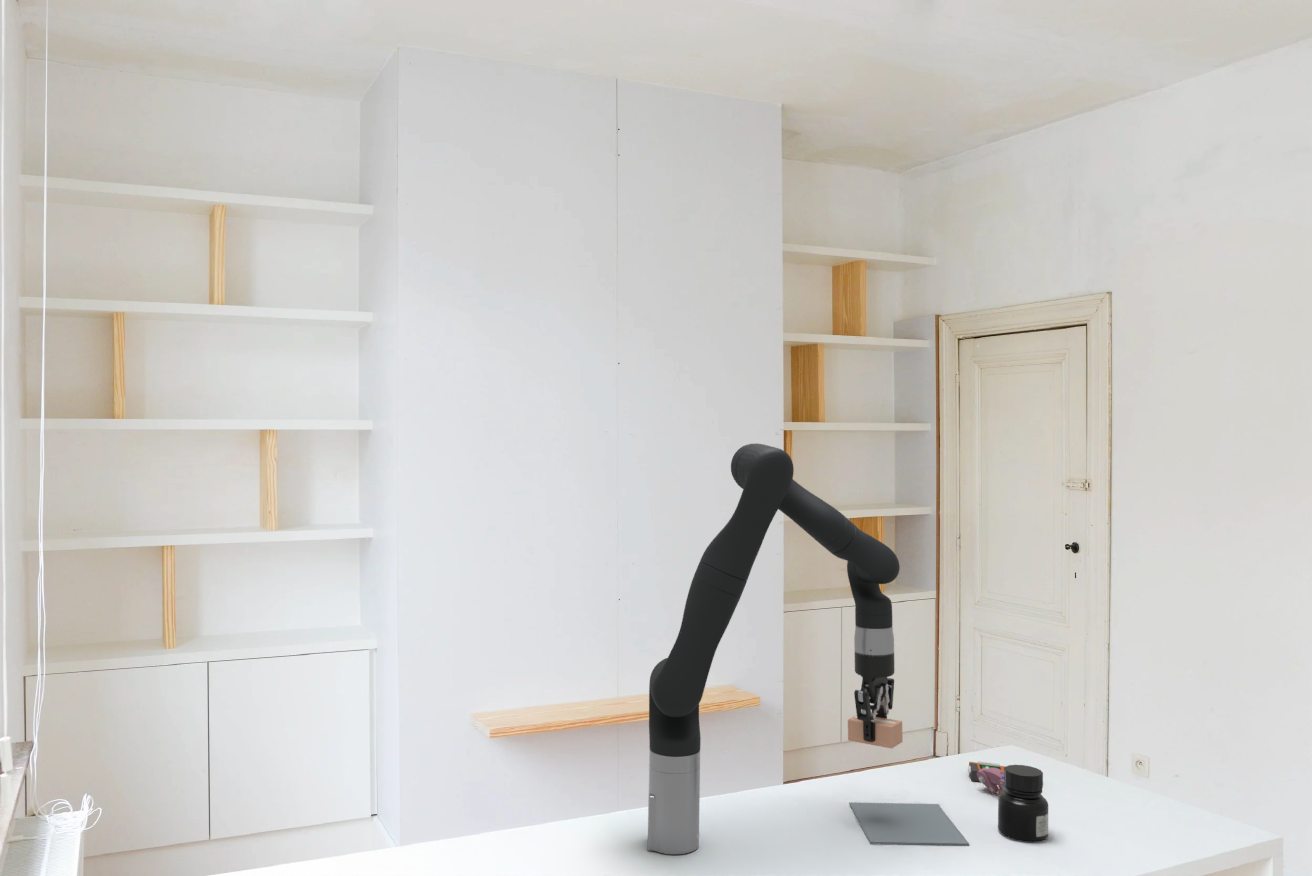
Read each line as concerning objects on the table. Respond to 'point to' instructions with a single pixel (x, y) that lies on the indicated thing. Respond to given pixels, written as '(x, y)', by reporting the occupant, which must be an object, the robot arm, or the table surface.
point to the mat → (907, 824)
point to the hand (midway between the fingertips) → (875, 737)
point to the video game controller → (992, 779)
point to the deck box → (877, 732)
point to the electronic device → (975, 767)
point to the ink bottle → (1023, 805)
